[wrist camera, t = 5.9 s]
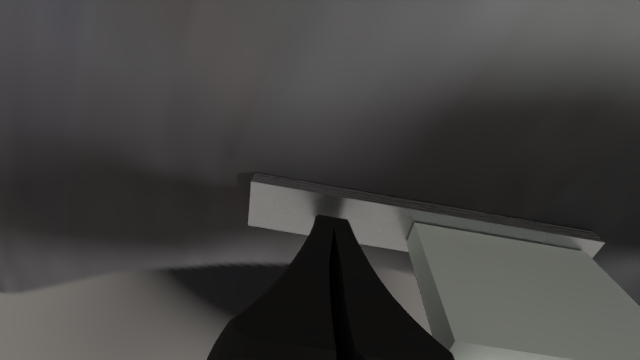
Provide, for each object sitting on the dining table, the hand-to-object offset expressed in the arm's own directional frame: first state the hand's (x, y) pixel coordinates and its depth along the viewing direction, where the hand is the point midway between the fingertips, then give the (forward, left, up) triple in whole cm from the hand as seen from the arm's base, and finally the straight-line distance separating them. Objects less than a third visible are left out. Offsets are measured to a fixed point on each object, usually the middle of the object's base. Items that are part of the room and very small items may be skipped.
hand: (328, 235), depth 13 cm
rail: (-4, 0, -2) cm, 5 cm away
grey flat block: (-8, 0, -2) cm, 8 cm away
